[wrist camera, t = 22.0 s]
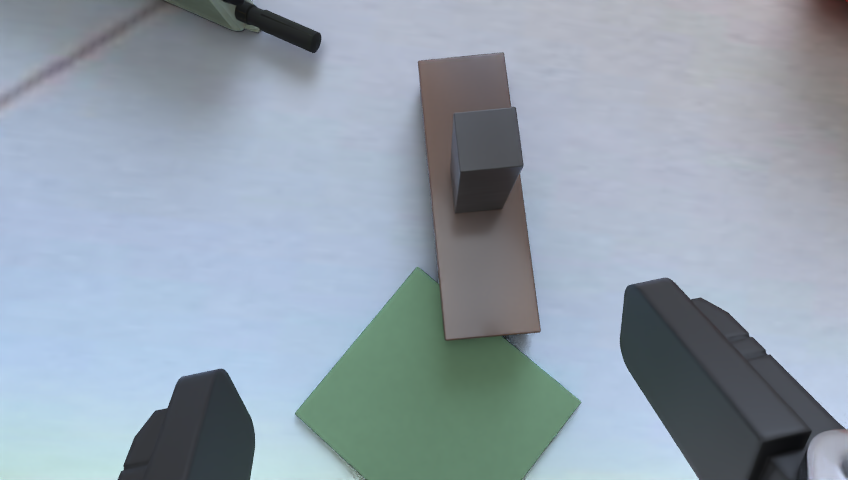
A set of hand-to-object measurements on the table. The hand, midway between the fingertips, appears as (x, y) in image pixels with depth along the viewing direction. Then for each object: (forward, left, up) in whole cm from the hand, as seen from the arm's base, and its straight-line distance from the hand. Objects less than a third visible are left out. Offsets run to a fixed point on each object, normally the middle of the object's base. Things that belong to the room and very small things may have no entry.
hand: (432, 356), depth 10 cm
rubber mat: (-3, -2, -20) cm, 20 cm away
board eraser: (+7, +4, -19) cm, 21 cm away
